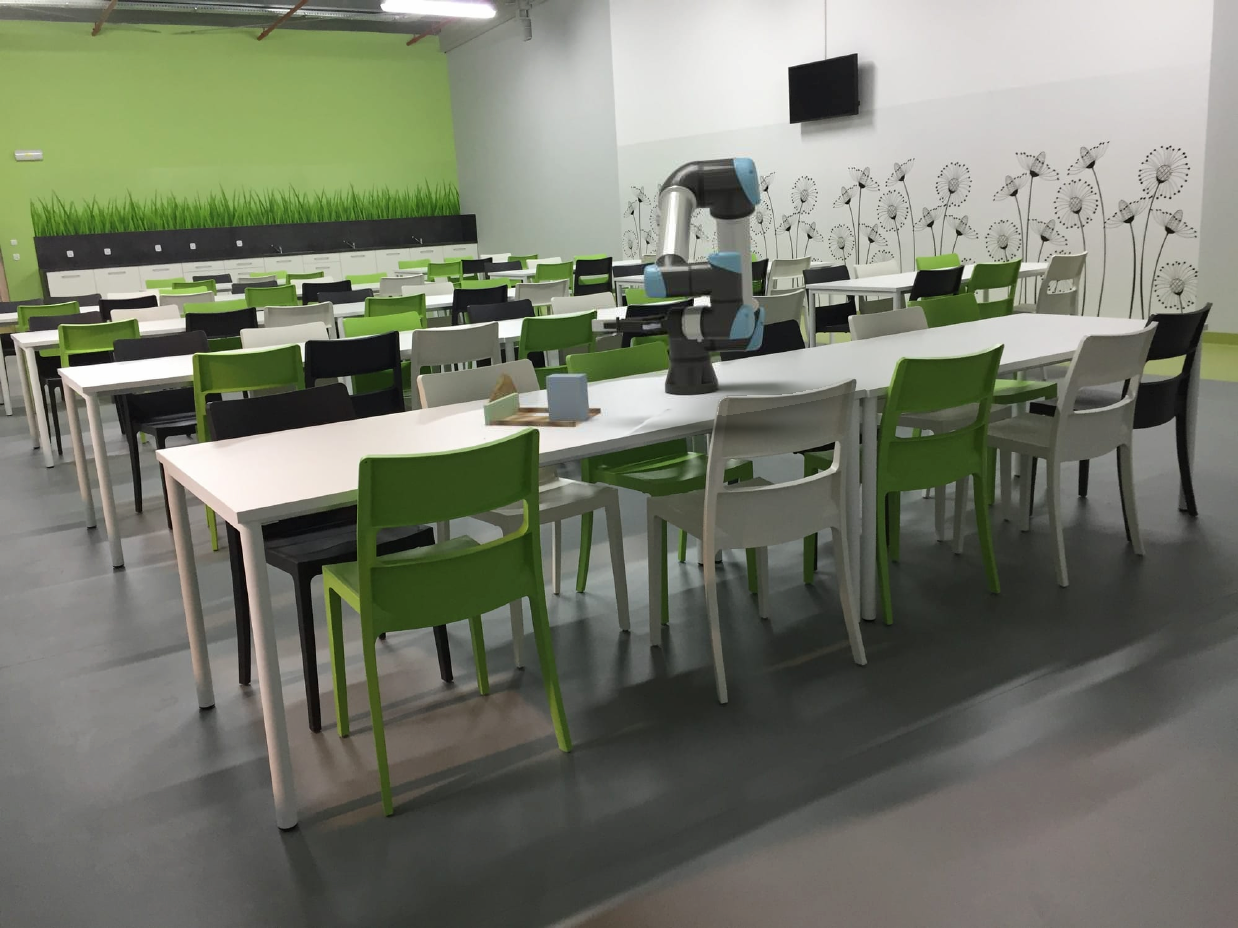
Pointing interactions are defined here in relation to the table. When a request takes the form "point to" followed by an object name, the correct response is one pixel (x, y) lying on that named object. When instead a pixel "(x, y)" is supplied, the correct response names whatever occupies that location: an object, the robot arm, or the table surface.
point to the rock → (503, 388)
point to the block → (567, 397)
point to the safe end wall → (501, 408)
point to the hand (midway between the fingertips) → (593, 325)
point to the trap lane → (538, 418)
